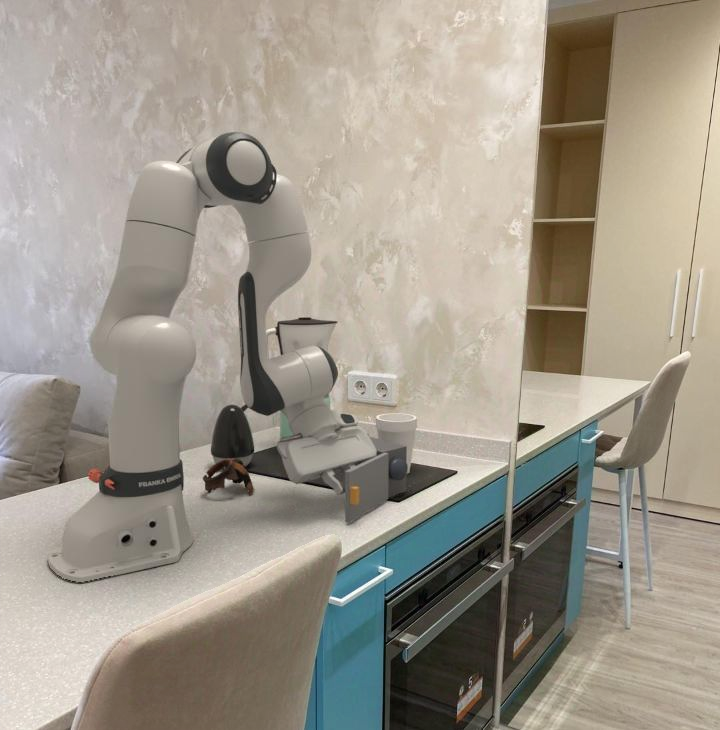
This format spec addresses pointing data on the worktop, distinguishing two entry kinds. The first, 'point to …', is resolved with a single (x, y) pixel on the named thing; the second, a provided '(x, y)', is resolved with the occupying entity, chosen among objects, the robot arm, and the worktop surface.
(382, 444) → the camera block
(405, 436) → the foam cup
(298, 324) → the green blender
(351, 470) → the side door
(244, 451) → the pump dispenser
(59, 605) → the worktop surface
